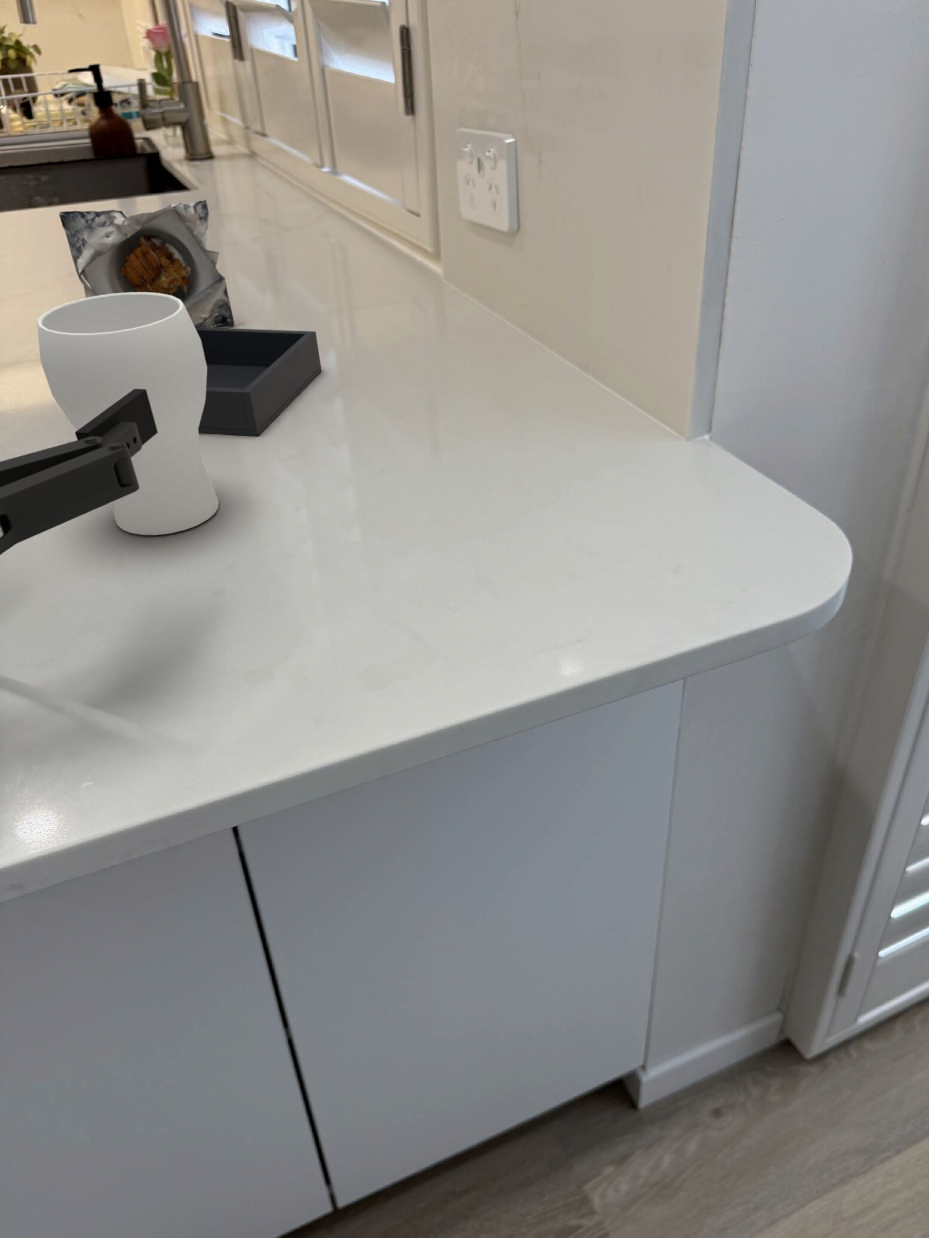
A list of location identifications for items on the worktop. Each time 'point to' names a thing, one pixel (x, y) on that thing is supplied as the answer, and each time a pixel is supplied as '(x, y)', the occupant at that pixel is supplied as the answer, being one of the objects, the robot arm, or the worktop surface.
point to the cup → (137, 359)
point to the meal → (150, 257)
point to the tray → (253, 376)
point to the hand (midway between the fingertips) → (45, 405)
